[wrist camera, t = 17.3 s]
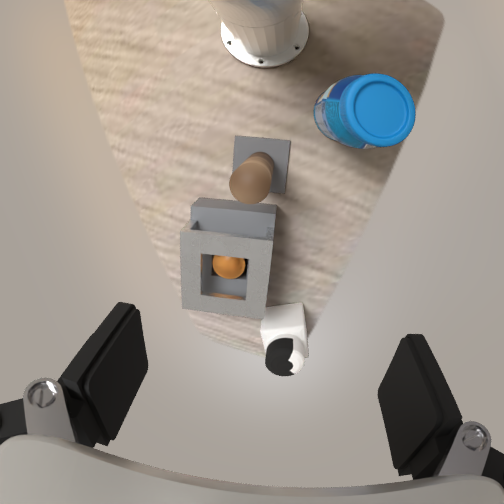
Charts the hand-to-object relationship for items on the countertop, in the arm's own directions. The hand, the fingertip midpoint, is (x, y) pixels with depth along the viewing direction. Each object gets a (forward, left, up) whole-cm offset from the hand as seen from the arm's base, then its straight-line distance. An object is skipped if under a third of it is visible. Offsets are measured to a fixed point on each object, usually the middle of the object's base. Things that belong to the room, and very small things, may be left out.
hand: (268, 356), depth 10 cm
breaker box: (+13, -6, -38) cm, 41 cm away
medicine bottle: (+26, +4, -38) cm, 47 cm away
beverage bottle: (-10, +8, -38) cm, 41 cm away
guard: (+13, -6, -33) cm, 36 cm away
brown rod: (-1, -3, -38) cm, 38 cm away
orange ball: (+13, -6, -38) cm, 41 cm away
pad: (-1, -3, -38) cm, 38 cm away
